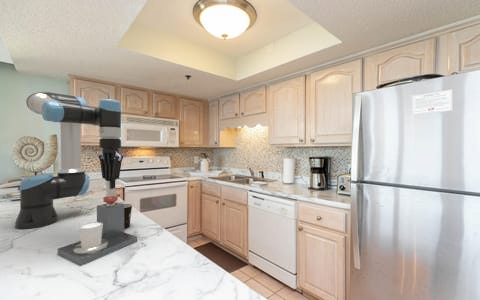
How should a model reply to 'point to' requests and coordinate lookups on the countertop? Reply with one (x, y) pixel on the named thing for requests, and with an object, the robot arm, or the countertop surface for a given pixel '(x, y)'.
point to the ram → (110, 200)
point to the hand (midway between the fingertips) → (110, 196)
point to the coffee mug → (127, 215)
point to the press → (110, 238)
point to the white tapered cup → (91, 234)
